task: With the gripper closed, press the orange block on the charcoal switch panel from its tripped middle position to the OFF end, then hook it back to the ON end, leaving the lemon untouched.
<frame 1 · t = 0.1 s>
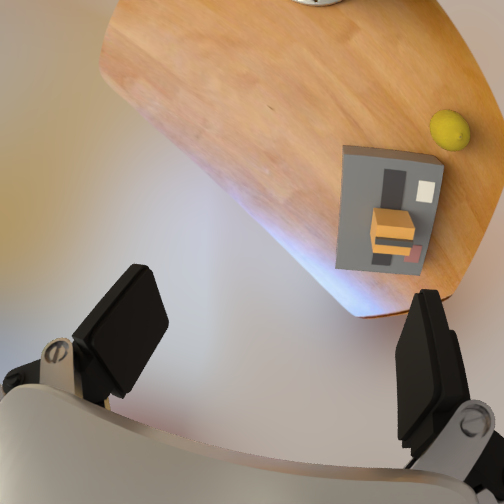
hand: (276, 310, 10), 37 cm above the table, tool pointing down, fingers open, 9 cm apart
switch panel: (384, 205, 44), on the table
orange block: (391, 232, 37), point 8 cm above the table, slide at 5.0 cm
lemon: (440, 124, 35), on the table
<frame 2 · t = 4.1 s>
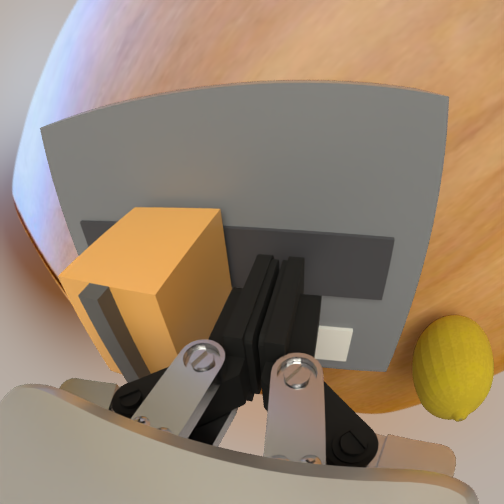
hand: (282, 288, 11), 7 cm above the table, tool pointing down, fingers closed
switch panel: (243, 206, 17), on the table
orange block: (155, 300, 11), point 8 cm above the table, slide at 6.1 cm, touching gripper
lemon: (442, 318, 18), on the table
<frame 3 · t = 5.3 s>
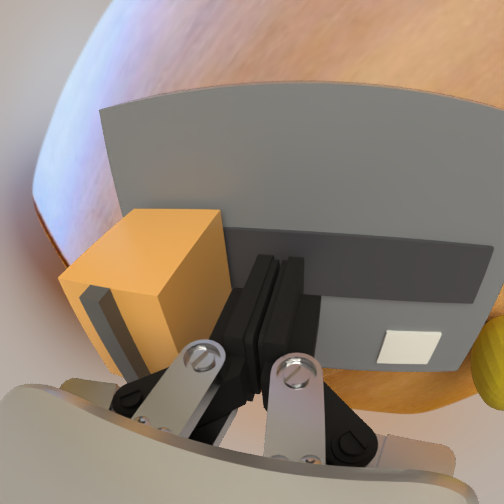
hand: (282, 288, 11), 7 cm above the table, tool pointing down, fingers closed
switch panel: (325, 211, 16), on the table
orange block: (155, 302, 11), point 8 cm above the table, slide at 10.8 cm, touching gripper
lemon: (490, 318, 17), on the table
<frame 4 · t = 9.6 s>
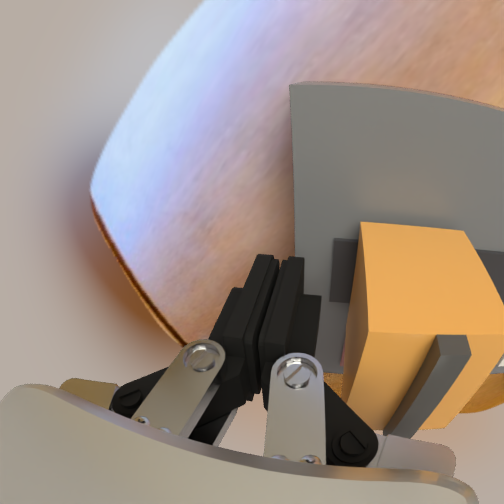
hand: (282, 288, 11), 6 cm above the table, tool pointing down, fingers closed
switch panel: (461, 225, 14), on the table
orange block: (412, 336, 9), point 8 cm above the table, slide at 9.6 cm, touching gripper
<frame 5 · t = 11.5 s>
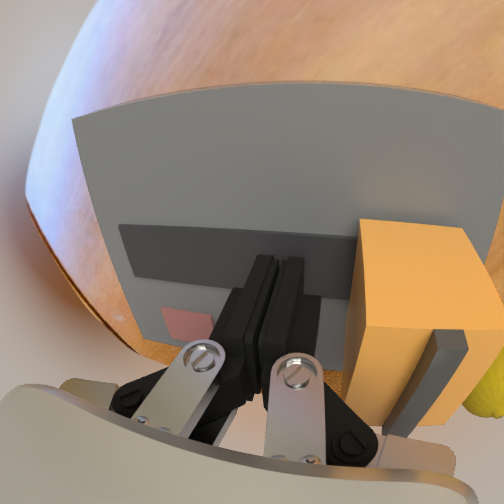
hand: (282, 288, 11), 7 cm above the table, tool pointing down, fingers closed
switch panel: (293, 210, 17), on the table
orange block: (410, 332, 9), point 8 cm above the table, slide at -0.1 cm, touching gripper
lemon: (475, 320, 17), on the table
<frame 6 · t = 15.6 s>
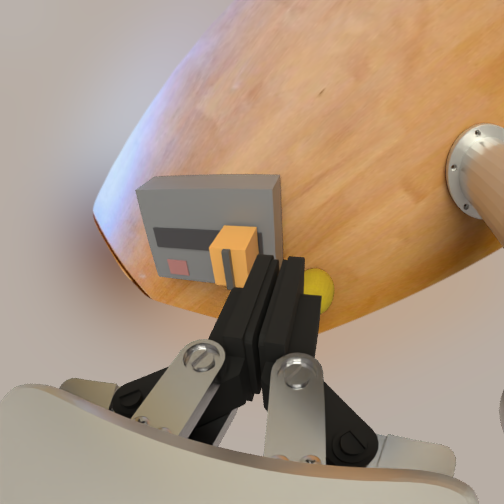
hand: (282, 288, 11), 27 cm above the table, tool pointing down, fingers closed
switch panel: (218, 221, 43), on the table
orange block: (235, 257, 35), point 8 cm above the table, slide at -0.1 cm
lemon: (316, 272, 44), on the table
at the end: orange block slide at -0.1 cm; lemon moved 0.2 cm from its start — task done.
